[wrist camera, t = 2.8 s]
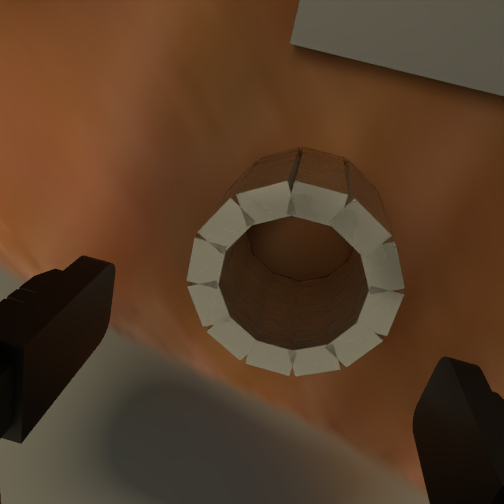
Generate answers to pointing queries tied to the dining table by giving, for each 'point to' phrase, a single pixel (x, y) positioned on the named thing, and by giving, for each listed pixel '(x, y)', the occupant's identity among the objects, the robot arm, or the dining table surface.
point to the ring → (289, 290)
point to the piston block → (412, 37)
